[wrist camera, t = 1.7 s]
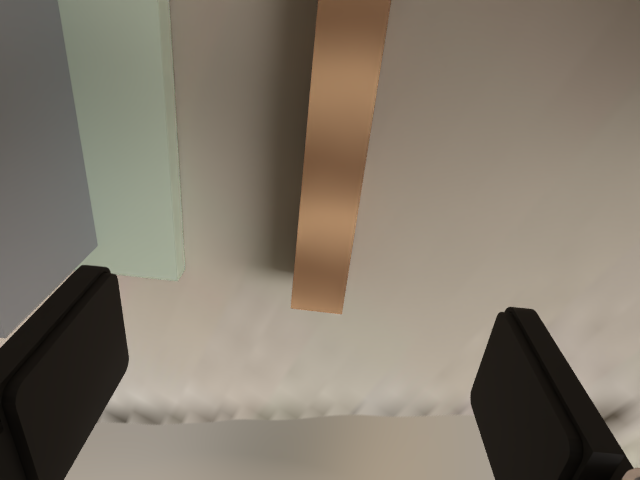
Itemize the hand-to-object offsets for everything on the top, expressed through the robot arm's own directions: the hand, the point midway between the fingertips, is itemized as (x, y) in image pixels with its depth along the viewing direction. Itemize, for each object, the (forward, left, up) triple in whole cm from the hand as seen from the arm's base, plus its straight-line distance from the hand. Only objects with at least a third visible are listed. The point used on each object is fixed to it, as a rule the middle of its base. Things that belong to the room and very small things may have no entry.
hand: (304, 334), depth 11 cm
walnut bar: (0, 0, -17) cm, 17 cm away
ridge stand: (+15, 0, -16) cm, 22 cm away
